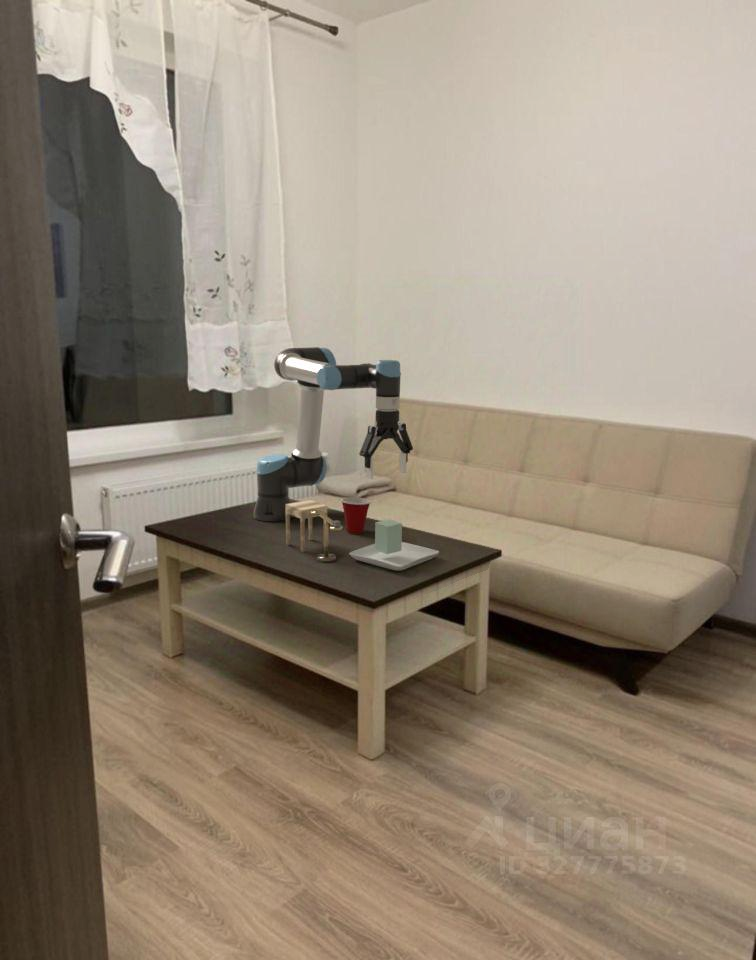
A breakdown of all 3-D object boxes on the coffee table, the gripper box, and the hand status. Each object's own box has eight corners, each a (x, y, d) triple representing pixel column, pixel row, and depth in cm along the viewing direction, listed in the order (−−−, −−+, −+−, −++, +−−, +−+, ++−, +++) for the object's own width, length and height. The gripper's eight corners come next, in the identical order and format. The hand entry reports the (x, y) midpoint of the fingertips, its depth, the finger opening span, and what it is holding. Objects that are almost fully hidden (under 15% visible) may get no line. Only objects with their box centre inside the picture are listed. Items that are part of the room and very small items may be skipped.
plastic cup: (377, 532, 269) (377, 499, 266) (354, 538, 262) (354, 504, 259) (357, 525, 277) (357, 494, 274) (334, 531, 270) (334, 498, 267)
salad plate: (388, 547, 254) (388, 537, 253) (440, 560, 241) (441, 550, 240) (347, 562, 238) (347, 552, 237) (400, 577, 225) (400, 566, 224)
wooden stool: (286, 544, 254) (285, 504, 251) (310, 539, 260) (310, 499, 257) (302, 551, 246) (301, 510, 243) (327, 546, 252) (327, 505, 249)
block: (374, 549, 240) (375, 522, 238) (389, 546, 244) (389, 519, 242) (386, 554, 236) (387, 526, 234) (401, 550, 239) (402, 523, 237)
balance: (305, 555, 243) (305, 510, 239) (321, 551, 246) (321, 507, 243) (332, 567, 231) (332, 520, 228) (347, 563, 235) (347, 517, 232)
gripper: (363, 413, 228) (362, 482, 232) (424, 408, 243) (422, 472, 248) (348, 410, 233) (348, 477, 238) (409, 405, 248) (407, 468, 253)
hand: (386, 475), depth 243 cm, fingers open, 13 cm apart
